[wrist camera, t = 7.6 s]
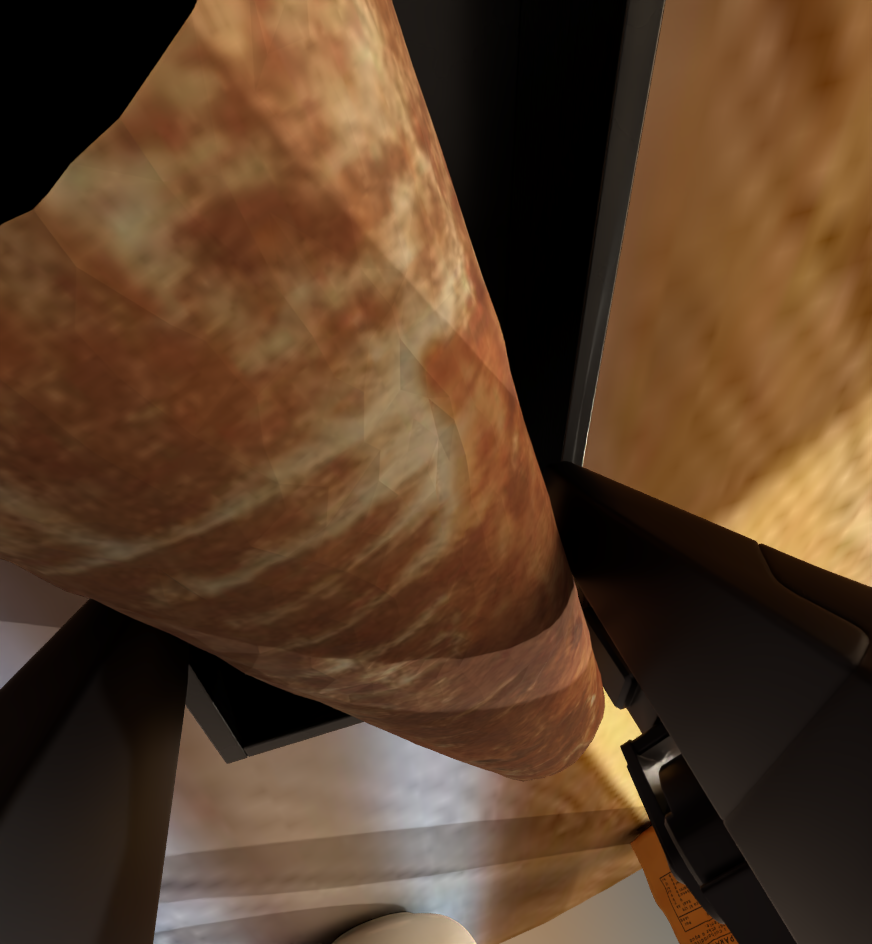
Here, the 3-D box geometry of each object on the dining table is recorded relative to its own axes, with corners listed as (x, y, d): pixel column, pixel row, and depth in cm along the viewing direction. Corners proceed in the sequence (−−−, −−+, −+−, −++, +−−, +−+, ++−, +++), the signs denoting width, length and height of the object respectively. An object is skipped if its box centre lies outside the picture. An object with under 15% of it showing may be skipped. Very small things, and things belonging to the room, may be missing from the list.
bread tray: (560, -343, 8) (798, -725, 4) (501, 579, 22) (547, 666, 18) (-346, -492, 6) (-1417, -1574, 2) (233, 648, 20) (226, 765, 16)
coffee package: (646, 845, 64) (784, 1105, 47) (616, 837, 57) (767, 1142, 40) (710, 810, 63) (876, 1065, 46) (688, 796, 55) (876, 1095, 38)
